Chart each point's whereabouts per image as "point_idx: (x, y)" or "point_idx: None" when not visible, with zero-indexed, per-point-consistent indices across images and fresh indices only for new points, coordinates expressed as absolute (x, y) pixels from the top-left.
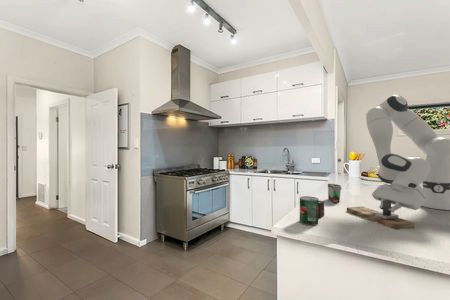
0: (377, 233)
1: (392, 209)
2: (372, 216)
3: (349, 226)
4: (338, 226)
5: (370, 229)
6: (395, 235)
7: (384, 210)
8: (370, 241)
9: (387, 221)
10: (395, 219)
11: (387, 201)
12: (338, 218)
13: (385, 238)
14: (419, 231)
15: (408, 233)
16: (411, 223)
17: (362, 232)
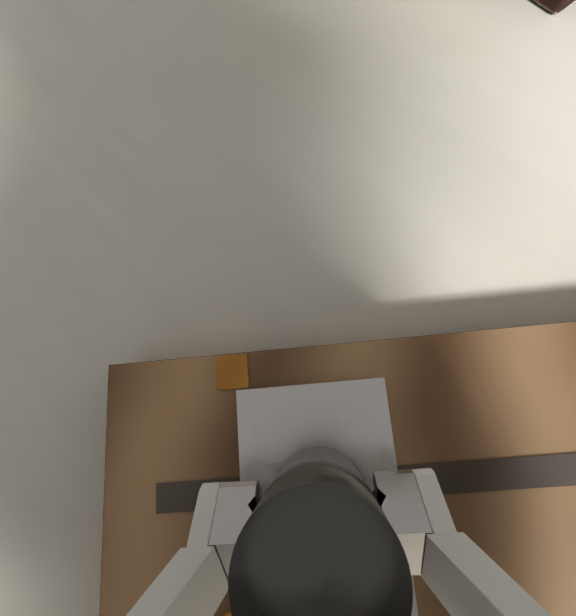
0: (106, 167)
1: (198, 515)
2: (381, 344)
3: (268, 70)
4: (281, 3)
5: (182, 174)
6: (42, 262)
7: (309, 454)
8: (25, 46)
9: (203, 370)
10: None
11: (278, 554)
12: (469, 92)
13: (27, 156)
14: (39, 563)
15: (38, 403)
16: (103, 611)
17: (148, 85)
